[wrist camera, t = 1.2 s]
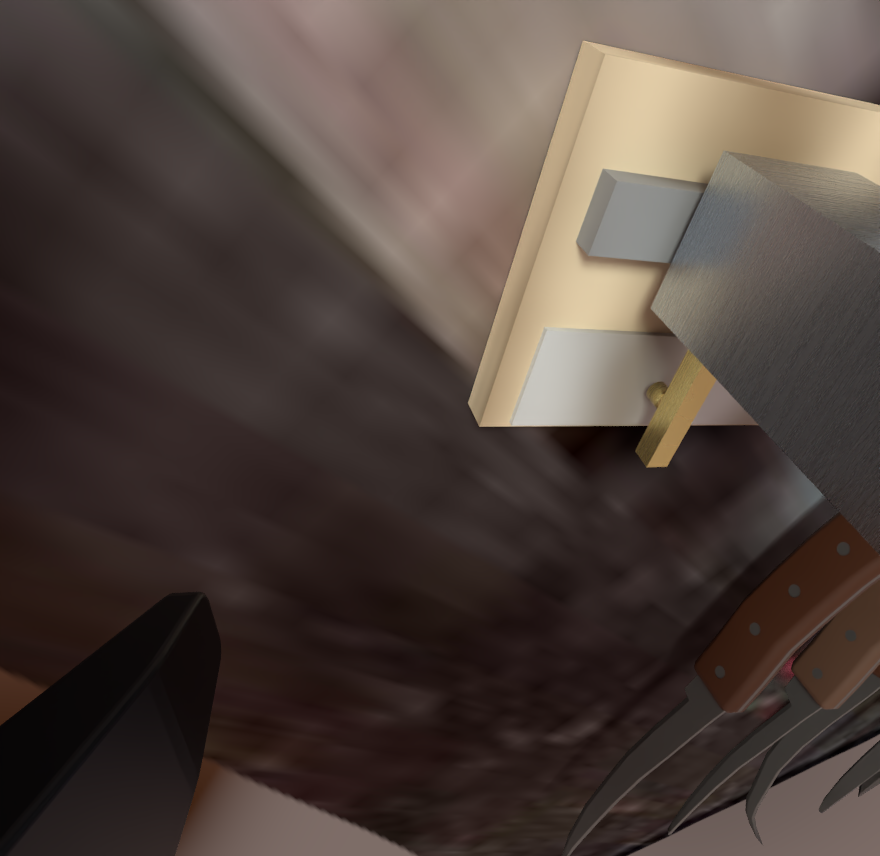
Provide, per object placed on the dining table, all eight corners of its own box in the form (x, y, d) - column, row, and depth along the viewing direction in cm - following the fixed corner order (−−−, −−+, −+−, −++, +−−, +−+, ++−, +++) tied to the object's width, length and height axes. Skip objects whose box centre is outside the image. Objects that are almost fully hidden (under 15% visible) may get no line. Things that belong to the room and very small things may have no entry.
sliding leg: (577, 435, 23) (827, 830, 15) (710, 141, 18) (1259, 500, 9) (686, 434, 25) (971, 790, 16) (840, 163, 19) (1419, 487, 10)
